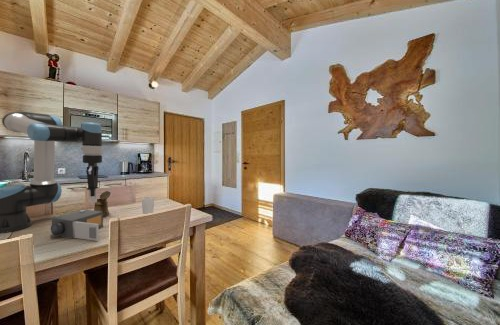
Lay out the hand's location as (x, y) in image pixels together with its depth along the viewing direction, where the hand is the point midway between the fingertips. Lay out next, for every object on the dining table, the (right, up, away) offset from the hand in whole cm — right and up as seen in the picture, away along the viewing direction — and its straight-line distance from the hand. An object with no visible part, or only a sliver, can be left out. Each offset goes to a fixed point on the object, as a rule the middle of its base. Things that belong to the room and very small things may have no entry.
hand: (93, 202), depth 101 cm
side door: (-3, -18, -1) cm, 18 cm away
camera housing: (-16, -18, +9) cm, 25 cm away
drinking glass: (+14, -17, +28) cm, 35 cm away
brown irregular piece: (-20, -16, +34) cm, 43 cm away
